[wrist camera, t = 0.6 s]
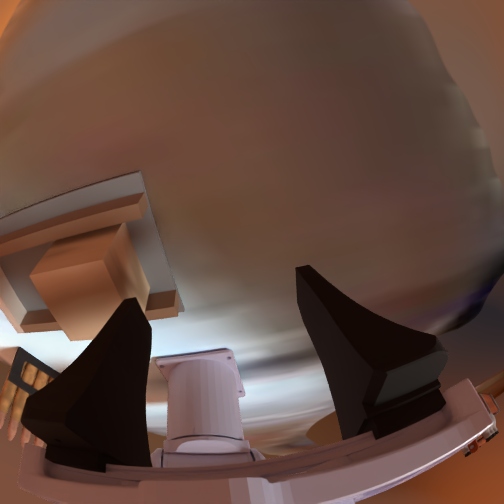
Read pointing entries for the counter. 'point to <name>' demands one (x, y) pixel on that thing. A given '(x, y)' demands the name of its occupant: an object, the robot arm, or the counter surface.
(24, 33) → the counter surface
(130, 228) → the bay
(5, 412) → the ammunition clip
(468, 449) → the milk bottle holder
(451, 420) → the robot arm
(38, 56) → the counter surface
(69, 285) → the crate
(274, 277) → the counter surface
